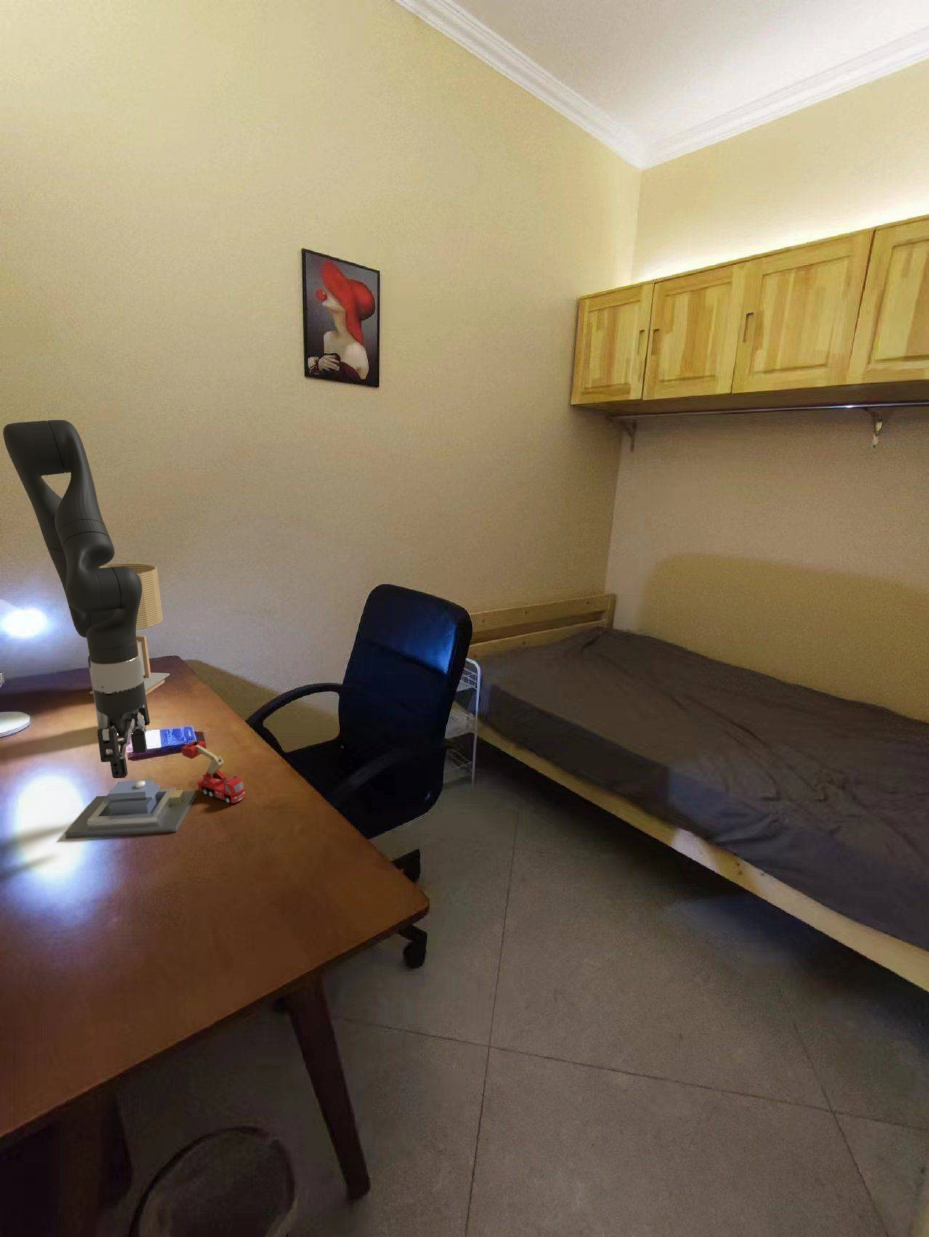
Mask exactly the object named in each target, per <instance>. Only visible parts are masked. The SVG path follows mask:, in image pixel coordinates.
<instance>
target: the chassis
mask: <svg viewBox="0 0 929 1237" xmlns="http://www.w3.org/2000/svg"><path fill="white" fill-rule="evenodd" d="M106 796H107V795H98V796H97V795H96V796H95V797H94V798H93V800H92V801H90V803H89V804H88V806H86V808H84V810H83V811H82V812H81V814H79V816H78V817H77V818H76V819H75V820H74V822H73V823H72V824H71V825H70V826H69V827H68V829H66V831H65V832H64V835H65V838H66V839H67V840H68V839H69V840H70V839H82V838H83V839H84V838H95V837H100V838H101V837H111V836H112V837H113V836H128V835H129V836H131V835H145V834H159V833H174V832H175V833H176V832H178V830H179V828H181V827H180V826H181V825H182V822H183V821H184V819H185V817H186V816H187V814H188V812H189V810H190V809H191V807H192V805H193V803H194V801H195V799H196V798H197V792H196V790H190V791H189V790H188V791H187V790H186V791H185V790H184V789H176V787H160V789H159V790H158V792H157V793H156V795H155V797H156V804H155V806H154V807H153V809H152V811H151V812H150V813H149V814H132V815H115V816H112V812H111V806H110V803H104V801H103V800H104V799H105V798H106Z"/></svg>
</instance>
